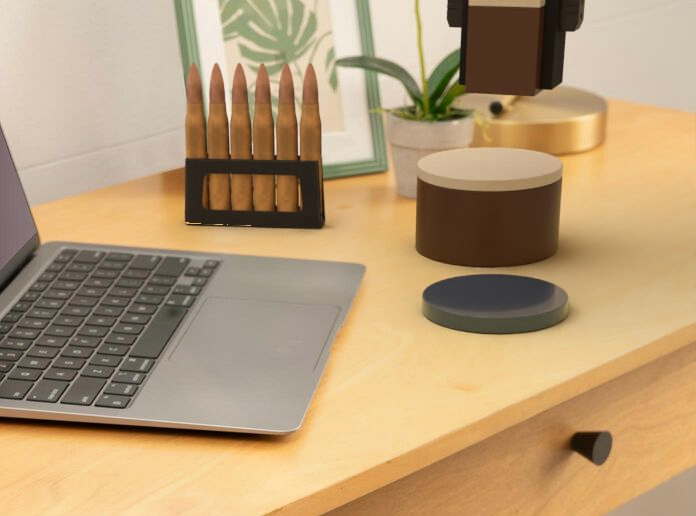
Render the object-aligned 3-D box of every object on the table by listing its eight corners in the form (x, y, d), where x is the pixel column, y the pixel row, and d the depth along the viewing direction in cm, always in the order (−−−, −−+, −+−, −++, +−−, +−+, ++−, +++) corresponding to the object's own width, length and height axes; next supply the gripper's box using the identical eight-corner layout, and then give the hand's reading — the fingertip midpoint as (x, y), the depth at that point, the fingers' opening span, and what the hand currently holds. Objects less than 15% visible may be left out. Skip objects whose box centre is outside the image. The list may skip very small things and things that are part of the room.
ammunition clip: (184, 224, 116) (177, 64, 110) (190, 218, 117) (184, 60, 112) (321, 228, 113) (320, 65, 108) (325, 222, 115) (325, 61, 109)
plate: (524, 281, 99) (524, 267, 99) (594, 322, 91) (596, 306, 91) (398, 298, 97) (399, 283, 97) (460, 341, 89) (461, 325, 89)
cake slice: (487, 79, 97) (492, -19, 94) (555, 82, 95) (562, -17, 93) (464, 93, 93) (468, -9, 90) (534, 96, 91) (540, -7, 89)
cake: (515, 222, 113) (520, 141, 110) (584, 256, 104) (590, 170, 101) (392, 237, 110) (394, 155, 107) (452, 273, 101) (455, 186, 99)
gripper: (365, -336, 85) (358, 86, 95) (683, -357, 77) (639, 102, 87) (409, -329, 91) (398, 67, 101) (708, -349, 83) (664, 80, 93)
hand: (510, 82), depth 94 cm, fingers closed on cake slice, 4 cm apart
